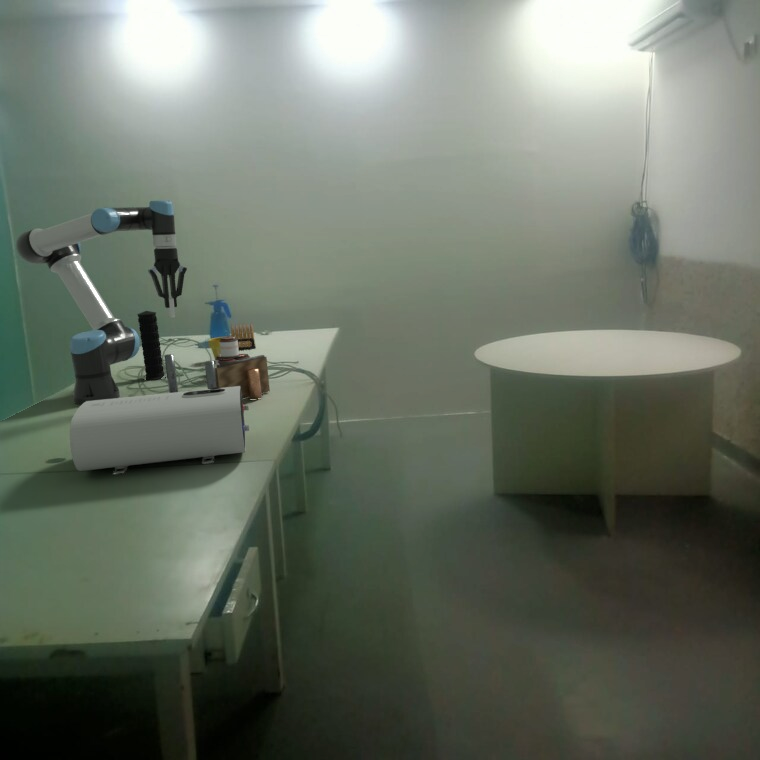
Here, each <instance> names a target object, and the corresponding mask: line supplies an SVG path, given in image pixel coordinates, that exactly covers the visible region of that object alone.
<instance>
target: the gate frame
mask: <svg viewBox="0 0 760 760" xmlns="http://www.w3.org/2000/svg"><path fill="white" fill-rule="evenodd" d="M175 363H176V362H175V355H174V354H172V353H168V354H165V355H164V364H165V370H166V371H165V373H166V374H167V378H166V379H167V386H168V393H174V392H179V387H178V380H177V372H176V371H177V370H176V364H175ZM215 368H216V363H215V360H206V361H204V369H205V370H204V371H205V378H206V379H205V380H206V386H207V388H206V389H211V388H214V387H217V381H216V372H215ZM247 380H248V389H249V397H248V399H249V398H250V399H258V398H261V397H263V396H262V394H261V385H260V375H259V369H258V368H251V369H247ZM250 399H249V400H250Z"/></svg>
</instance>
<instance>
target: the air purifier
mask: <svg viewBox="0 0 760 760" xmlns="http://www.w3.org/2000/svg"><path fill="white" fill-rule="evenodd" d="M244 411H249V404H245V405H244V403H243V399H242V394H241V387H240V386H235V387H225V388H220V387H214V388H211V389H208V388H205V389H195V390H187V391H178V392H174V393H169V392H168V393H167V392H165V393H155V394H148V395H147V394H145V395H137V396H135V395H134V396H126V397H124V396H123V397H119V398H114V399H104V400H94V401H86V402H84V403H83V404H80V406H78V407H77V409H76V411H75V412H74V414H73V416H72V418H71V421H70V425H69V427H70V428H69V446H70V453H71V457H72V461H73V465H74V466H75V468H76V470H77V471H79V472H83V471H93V470H102V469H108V468H114V470H115V471H114V470H113V472H114V473H122V474H125V473H126V472H127V470H128V468H127V467H129V466H135V465H145V464H154V463H163V462H170V461H171V462H172V461H179V460H181V461H182V460H186V459H187V460H188V459H196V458H197V459H198V458H202V461H201V464H202V465H207V464H213V463H215V458H216V456H223V455H233V454H240V453H241V454H242V453H246V448H247V447H246V445H247V443H246V442H247V441H246V432H249V431H250V426H249V424H245V415H244V413H245V412H244ZM207 459H210V460H207ZM125 471H126V472H125ZM124 472H125V473H124Z"/></svg>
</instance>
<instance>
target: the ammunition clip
mask: <svg viewBox="0 0 760 760" xmlns="http://www.w3.org/2000/svg"><path fill="white" fill-rule="evenodd" d="M230 333H231V334H230V337H235V338H236V339H237V340H238V350H239V351H243V350H245V351H246V350H256V348H257V347H256V342H255V334H254V333H255V332H254V327H253V324H252V323H250V325H249V323H246V326H245V324H244V323H243V324H242V326H241V324H240V323H239V324H238V326H237V324H235V325H234V326H233V324H231V327H230Z"/></svg>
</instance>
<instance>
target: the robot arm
mask: <svg viewBox="0 0 760 760" xmlns="http://www.w3.org/2000/svg"><path fill="white" fill-rule="evenodd" d="M148 205H149V206H146V207H144V206H143V207H142V206H138V207H137V206H135V207H134V206H132V207H131V206H129V207H108V206H105V207H99V208H96V209H95V210H94V211H93V212H92V213H89V214H86V215H82V216H80V217H77V218H74V219H70V220H68V221H64V222H61V223H59V224H55V225H52V226H49V227H47V228H40V227H39V228H37V227H36V228H33V229H30V230H26V231H24V232H22V233H21V234H20V235H19V236H18V237H17V239H16V241H15V242H16V244H15V247H16V252H17V254H18V255H19V256H20V257H21V258H22V259H23V260H24V261H26V262H28V263H30V264H37V265H38V264H40V265H41V264H46V265H47V267H48V269H49V270H50V272H52V273H55V274H57V275H58V276H59V278H60V279H61V281H62V282H63V284H64V286H65V287H66V289H67V290H68V292H69V294H70V295H71V297H72V298H73V300H74V302H75V303H76V305H77V307H78V308H79V310H80V311H81V313H82V314H83V316H84V318H85V319H86V321H87V323H88V324H89V326H90V328H92V329H91V330H88V331H82V332H79V333H77V334H75V335H73V336H72V337H71V338H70V340H69V346H70V349H69V350H70V355H71V360H72V366H73V367H72V368H73V371H74V372H73V373H74V376H75V377H74V378H75V383H74V388H73V393H72V400H73V403H74V402H75V403H77V404H76V405H82V404H83V403H84V402H86V401H94V400H104V399H114V398H121V397H120V396H121V394H120V389H119V387H118V386H117V383H116V381H115V380H114V378H113V375H112V371H111V369H112V368H111V365H115V364H117V363H120V362H121V363H122V362H126V361H128V360H129V359H133V358H134V357H135V356H136V355H137V354H138V353H139V350H140V345H141V340H140V337H139V334H138V332H137V331H136V330H135V329H134V328H132V327H129V326H125V324H124V322H123V321H122V319H120V318H116V317H115V316H114V314H113V313H112V311H111V310H110V308H109V307H108V305H107V303H106V302H105V300H104V298H103V297H102V295H101V294H100V292H99V290H98V289H97V287H96V286H95V284H94V283H93V281H92V279H91V278H90V275H88V273H87V271H86V269H85V268H84V266H83V265H82V263H81V261H82V254H81V252H82V248H81V246H82V245H81V243H83V242H86V241H89V240H91V239H95V238H98V237H101V236H104V235H108V234H112V233H116V232H125V231H127V232H128V231H135V232H136V231H151V232H152V233H151V234H152V235H151V236H152V242H153V243H152V245H153V248H154V249H153V252H154V263H153V267H151V268H149V269H147V273H148V274H149V275H150V276H151V280H152V281H153V285H154V288H155V290H156V291H155V292H156V293H157V296H158V297H160V298H163V300H164V307H165V308H166V309H167V312H168V318H170V319H171V318H176V308H177V307H178V300H177V298H178V297H179V296H182V293H183V286H184V280H185V275H186V272H187V270H188V268H187V267H185V266H183V265H181V263H180V261H179V257H178V255H179V254H178V249H177V236H176V234H177V233H176V229H175V227H176V226H175V225H176V224H175V212H174V206H173V202H172V201H170V200H163V199H162V200H150V201H149V203H148ZM177 271H178V272H179V273H178V277H177V284H176V274H177ZM157 272H158V273H159V274H160V277H161V284H162V286H161V284H160V281H159V277H158V275H157ZM168 278H169V280H168ZM168 281H169V282H168ZM169 288H170V289H169ZM169 290H170V292H169ZM75 403H74V404H75Z"/></svg>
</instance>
